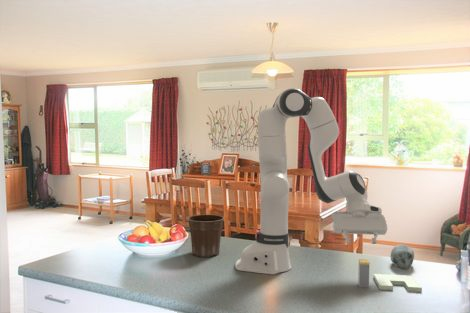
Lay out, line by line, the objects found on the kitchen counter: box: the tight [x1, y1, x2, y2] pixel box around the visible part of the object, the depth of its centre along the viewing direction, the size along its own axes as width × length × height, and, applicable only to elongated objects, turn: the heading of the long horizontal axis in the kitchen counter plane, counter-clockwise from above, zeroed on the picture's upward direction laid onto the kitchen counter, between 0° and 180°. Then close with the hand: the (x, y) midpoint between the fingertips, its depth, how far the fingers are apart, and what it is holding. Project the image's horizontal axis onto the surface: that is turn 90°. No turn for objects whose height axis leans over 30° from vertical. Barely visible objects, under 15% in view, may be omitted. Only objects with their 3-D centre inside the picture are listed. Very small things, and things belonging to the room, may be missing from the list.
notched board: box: [373, 273, 423, 293], centre depth 155 cm, size 14×12×2 cm
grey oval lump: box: [390, 243, 415, 270], centre depth 176 cm, size 14×10×10 cm
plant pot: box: [187, 214, 225, 258], centre depth 191 cm, size 16×16×16 cm
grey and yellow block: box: [357, 258, 370, 288], centre depth 153 cm, size 3×3×9 cm
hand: (361, 242), depth 163 cm, fingers open, 8 cm apart
